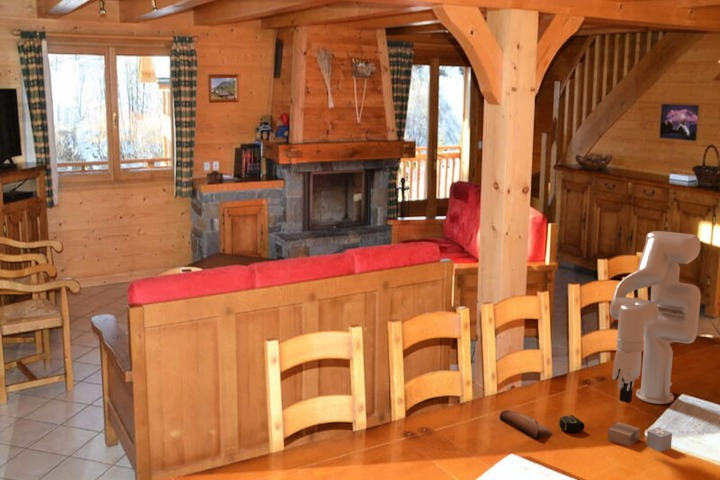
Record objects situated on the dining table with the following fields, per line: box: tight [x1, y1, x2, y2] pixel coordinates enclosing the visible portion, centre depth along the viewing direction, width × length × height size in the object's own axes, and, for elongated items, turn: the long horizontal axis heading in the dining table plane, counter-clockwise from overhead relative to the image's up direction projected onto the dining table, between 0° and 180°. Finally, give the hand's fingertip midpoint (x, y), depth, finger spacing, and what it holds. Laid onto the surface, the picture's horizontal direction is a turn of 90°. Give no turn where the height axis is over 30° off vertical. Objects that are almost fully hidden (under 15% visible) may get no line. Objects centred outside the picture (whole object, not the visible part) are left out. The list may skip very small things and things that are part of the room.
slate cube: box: [646, 426, 673, 453], centre depth 232 cm, size 5×5×5 cm
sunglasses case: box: [499, 409, 555, 441], centre depth 246 cm, size 18×7×7 cm
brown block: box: [607, 421, 640, 448], centre depth 237 cm, size 7×7×4 cm
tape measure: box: [558, 414, 585, 433], centre depth 244 cm, size 7×7×4 cm
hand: (625, 401), depth 234 cm, fingers closed
